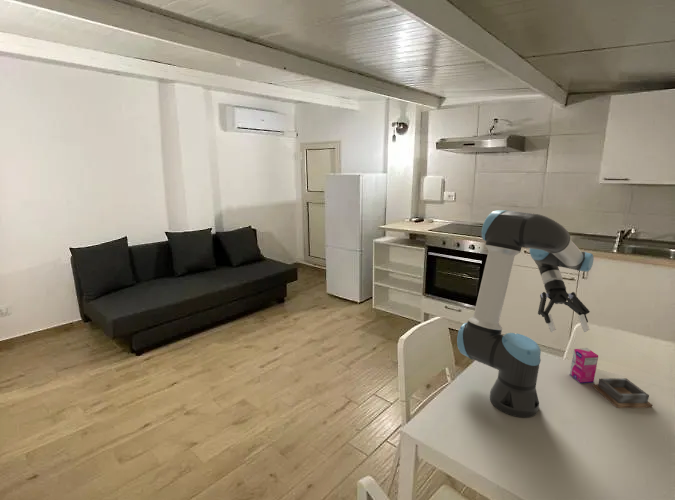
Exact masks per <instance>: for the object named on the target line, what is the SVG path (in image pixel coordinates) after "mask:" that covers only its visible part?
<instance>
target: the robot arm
mask: <svg viewBox="0 0 675 500" xmlns="http://www.w3.org/2000/svg"><path fill="white" fill-rule="evenodd" d="M482 224H483V225H482V226H481V227H482V228H481V239H482V240H483V241H485V245H484V246H485V248H486V249H487V252H488V253H487V257H486V260H485V264H484V268H483V273H482V278H481V282H480V286H479V291H478V296H477V300H476V303H475V308H474V313H473V315H472V316H471V317H469V318H468V319H467V322H464V323H463V324H462V325H461V326H460V328H459V330H458V331H457V336H456V337H457V338H456V344H457V345H456V346H457V348H458V351H459V353H460V354H462V355H463V356H465V357H467V358H468V359H470V360H473V361H476V362H477V363H480V364H481V363H482V364H483V365H486V366H489V367H490V368H493V369H494V370H497V371H498V373H497V374H498V375H497V378H496V379H495V382H494V384H493V385H492V387H491V389H490V392H489V400H490V402H491V403H492V405H493V406H494V407H495V408H496V409H498V410H499V411H501V412H502V413H505V414H508V415H510V416H513V417H519V418H530V417H533V416H536V415H537V414H538V412H539V408H540V401H539V396H538V392H537V381H538V376H539V369H540V364H541V361H542V359H541V354H542V353H541V351H542V350H541V348H540V346H539V345H538V343H537V342H536V341H535V340H534V339H532V338H531V337H528V336H527V335H523V334H520V333H515V332H508V333H505V334H504V335H503V334H502V331H503V327H502V326H501V324H500V319H501V315H502V311H503V307H504V302H505V299H506V298H505V297H506V293H507V289H508V285H509V280H510V276H511V274H512V269H513V264H514V259H515V257H516V256H517V255H518V254H520V253H521V250H522V248H524V249H525V248H526V249H529V255H530V257H531V259H532V260H533V261H534V262H535V264H536V266H537V268H538V271H539V273H540V277H541V280H542V283H543V285H544V291H542V292H541V293H540V295H539V298H540V302H539V306H538V310H537V311H538V312H537V315H538V316H541V317H542V318H544V321H545V323H546V324H547V326H548V329H549V332H550V333H553V332H555V331H556V330H557V328H556V325H555V323H554V319H553V317H552V314H551V313H550V311H551V310H552V308H553V307H554V305H565V306H567V307H569V308H570V309H571V310H573V312H575V314H577V315H578V319H579V322H580V326H581V329H582V332H583V333H586V332H588V331H590V330H591V329H590V327H589V324H588V323H589V320H588V317H587V314H589V313H590V312H591V311H590V309H588V308H587V307H586V306H585V303H583V301H581V300H580V299H579V298H578V297H577V296H578V295H577V294H576V293H575V292H574V291H572V292H571V293H568V292H567V287H566V284H565V282H564V279H563V276H562V273H561V271H560V268H563V269H564V268H565V269H570V270H575V271H577V272H585V273H587V272H590V271H591V270H592V267H593V263H594V261H595V260H594V255H593V253H590V252H587V251H581V250H580V248H579V247H578V246H577V245H576V243H574V242H573V240H571V235H570V233H569V231H568V229H566V228H565V226H563V225H562V224H560V223H559V222H557V221H555V220H554V219H552V218H550V217H548V216H546V215H543V214H539V213H531V212H530V213H529V212H522V211H514V210H507V209H504V210H502V209H499V210H498V209H497V210H493V211H491V212H490V213H489V214H488V215H487V216H486V218H485V220H484V222H483V223H482ZM559 267H560V268H559ZM547 298H548V299H549V302H548V304H547V305H546V302H547ZM545 307H546V308H545Z"/></svg>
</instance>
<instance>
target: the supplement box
mask: <svg viewBox="0 0 675 500" xmlns="http://www.w3.org/2000/svg"><path fill="white" fill-rule="evenodd" d="M598 359H599V354H597V353H595V352H594V351H592V350H591V349H589V348H588V347H582V348H574V349H573V353H572V357H571V365H570V370H569V371H570V372H569V376H570V377H572V378H573V379H574V380H575V381H577V382H578V383H579V384H591V383H594V381H595V377H596V371H597V367H598V365H597V364H598Z"/></svg>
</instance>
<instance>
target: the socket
mask: <svg viewBox="0 0 675 500" xmlns="http://www.w3.org/2000/svg"><path fill="white" fill-rule="evenodd" d="M598 379H599V380H598V384H597V383H595V384H593V385H592V387H593V389H595V390H596V391H597V392H598V393H600V394H601V395H602V396H603V397H604V398H605V399H606V400H608V401H609V402H610V403H611V404H613V406H615V407H616V408H619V409H625V408H626V409H627V408H629V409H630V408H633V409H634V408H636V409H637V408H643V409H644V408H646V409H647V408H649V407H650V408H653V403H651V402H650V401H649V398H650V394H648V393H647V392H646V391H644V390H643V389H641V388H640V387H639V386H638V385H637V384H635V383H633V382H632V381H630V380H629V379H628V378H622V377H621V378H619V377H618V378H615V377H614V378H609V377H608V378H598ZM650 408H649V409H650Z"/></svg>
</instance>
